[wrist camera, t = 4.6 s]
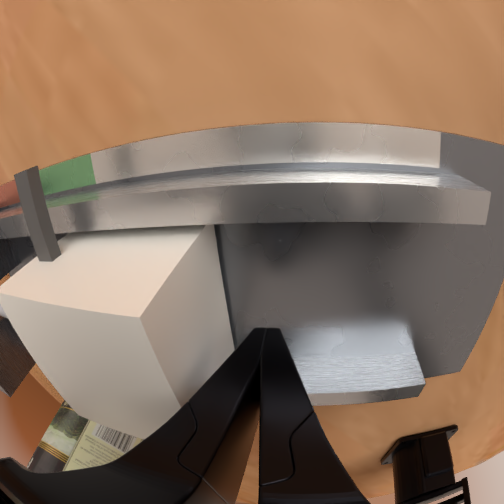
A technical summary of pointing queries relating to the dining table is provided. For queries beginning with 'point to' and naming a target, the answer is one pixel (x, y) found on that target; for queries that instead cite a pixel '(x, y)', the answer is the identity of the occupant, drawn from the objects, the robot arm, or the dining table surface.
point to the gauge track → (307, 240)
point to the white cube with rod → (119, 315)
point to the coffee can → (78, 444)
